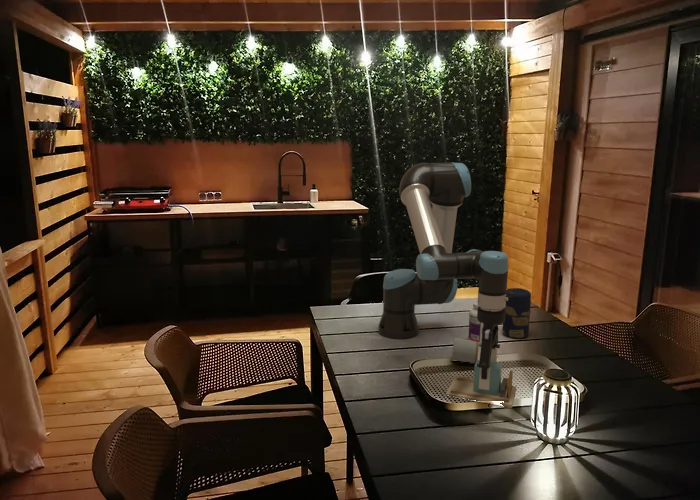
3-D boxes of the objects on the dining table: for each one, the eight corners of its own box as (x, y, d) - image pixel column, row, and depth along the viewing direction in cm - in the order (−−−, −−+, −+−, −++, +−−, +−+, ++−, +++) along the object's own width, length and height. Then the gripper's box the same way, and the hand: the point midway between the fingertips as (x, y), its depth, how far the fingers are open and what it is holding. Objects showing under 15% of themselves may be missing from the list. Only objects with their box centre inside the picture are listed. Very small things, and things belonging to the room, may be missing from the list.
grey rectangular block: (477, 367, 176) (478, 344, 175) (451, 364, 178) (452, 342, 177) (478, 355, 187) (479, 333, 185) (453, 353, 188) (454, 331, 187)
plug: (473, 391, 158) (474, 365, 156) (475, 385, 161) (477, 360, 160) (498, 395, 155) (499, 369, 154) (500, 389, 159) (501, 363, 157)
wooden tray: (446, 396, 157) (446, 373, 155) (454, 379, 168) (455, 358, 166) (511, 408, 150) (513, 384, 149) (516, 389, 161) (517, 367, 160)
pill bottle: (489, 338, 201) (491, 300, 198) (492, 346, 194) (495, 307, 190) (467, 337, 202) (468, 299, 199) (469, 345, 194) (471, 306, 191)
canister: (531, 339, 200) (535, 291, 196) (505, 339, 200) (508, 291, 196) (524, 330, 209) (527, 284, 205) (499, 330, 209) (501, 284, 206)
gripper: (499, 323, 140) (495, 400, 145) (510, 296, 163) (506, 364, 167) (469, 319, 143) (466, 395, 148) (484, 294, 166) (481, 360, 170)
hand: (487, 378), depth 157 cm, fingers open, 13 cm apart
